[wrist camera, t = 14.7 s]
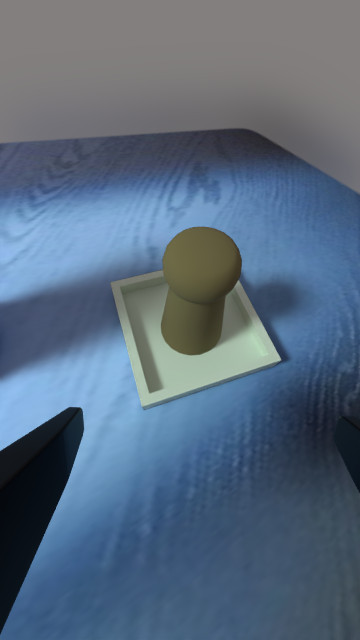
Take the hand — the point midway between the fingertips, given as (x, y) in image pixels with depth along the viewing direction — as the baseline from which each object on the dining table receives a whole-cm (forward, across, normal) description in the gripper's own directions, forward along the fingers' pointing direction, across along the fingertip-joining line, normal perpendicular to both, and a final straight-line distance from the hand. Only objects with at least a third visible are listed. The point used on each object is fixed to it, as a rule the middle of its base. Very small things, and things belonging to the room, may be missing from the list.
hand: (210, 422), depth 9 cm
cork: (+16, 0, +2) cm, 17 cm away
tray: (+17, 0, +2) cm, 17 cm away
